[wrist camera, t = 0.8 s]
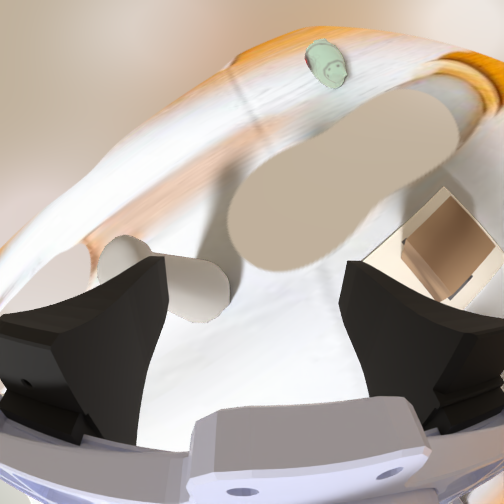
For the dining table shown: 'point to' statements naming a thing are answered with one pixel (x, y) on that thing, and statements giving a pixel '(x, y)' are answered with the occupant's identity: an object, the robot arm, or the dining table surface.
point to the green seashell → (326, 63)
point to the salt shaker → (173, 278)
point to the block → (446, 250)
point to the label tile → (393, 266)
